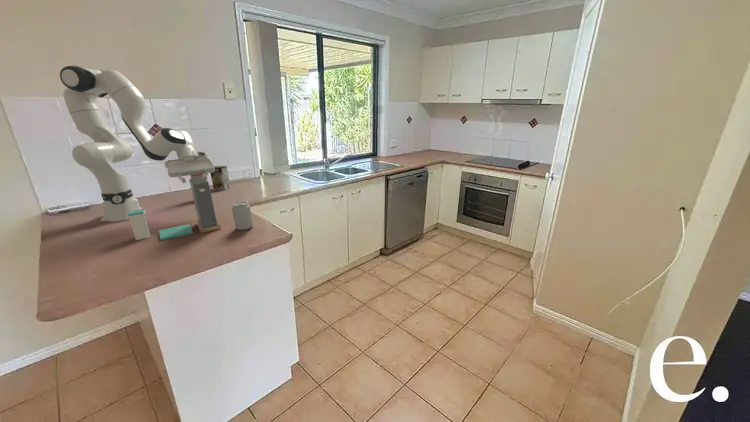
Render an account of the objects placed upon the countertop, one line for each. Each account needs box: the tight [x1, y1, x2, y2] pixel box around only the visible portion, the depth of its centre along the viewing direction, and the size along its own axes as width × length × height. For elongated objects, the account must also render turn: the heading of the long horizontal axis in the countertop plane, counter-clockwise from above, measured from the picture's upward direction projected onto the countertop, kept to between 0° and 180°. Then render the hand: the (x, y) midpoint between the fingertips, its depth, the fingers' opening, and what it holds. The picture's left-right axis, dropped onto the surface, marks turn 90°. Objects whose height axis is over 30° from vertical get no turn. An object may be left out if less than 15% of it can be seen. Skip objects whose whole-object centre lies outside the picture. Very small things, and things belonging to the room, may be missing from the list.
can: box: [231, 201, 254, 231], centre depth 137 cm, size 8×8×12 cm
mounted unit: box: [189, 178, 222, 234], centre depth 138 cm, size 15×8×22 cm, turn 36°
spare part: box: [128, 208, 151, 241], centre depth 129 cm, size 5×5×12 cm
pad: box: [158, 223, 194, 241], centre depth 135 cm, size 12×12×1 cm
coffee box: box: [210, 165, 231, 191], centre depth 208 cm, size 9×6×16 cm
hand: (195, 180), depth 148 cm, fingers open, 8 cm apart
